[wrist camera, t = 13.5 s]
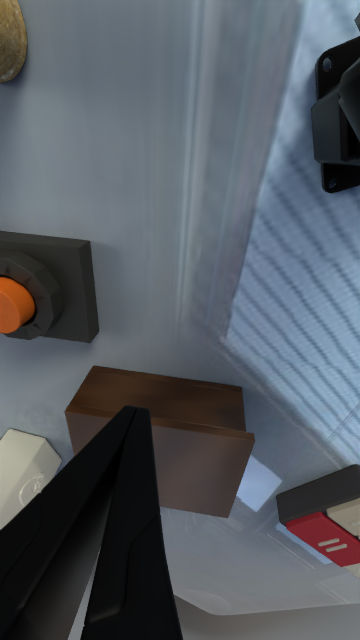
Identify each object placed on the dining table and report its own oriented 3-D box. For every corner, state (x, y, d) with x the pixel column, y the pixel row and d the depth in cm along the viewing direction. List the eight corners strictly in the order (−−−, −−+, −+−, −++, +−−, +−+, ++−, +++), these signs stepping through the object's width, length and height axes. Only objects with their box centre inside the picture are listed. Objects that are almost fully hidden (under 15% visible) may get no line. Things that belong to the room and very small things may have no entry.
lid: (254, 433, 21) (255, 441, 20) (227, 510, 27) (228, 518, 27) (68, 404, 22) (64, 411, 21) (85, 485, 28) (82, 492, 28)
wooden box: (242, 386, 25) (246, 431, 21) (221, 463, 32) (222, 509, 27) (92, 365, 26) (68, 404, 22) (102, 443, 33) (85, 485, 28)
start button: (29, 279, 18) (12, 290, 17) (39, 324, 20) (25, 337, 19) (-20, 273, 19) (-41, 283, 17) (-5, 318, 21) (-23, 330, 19)
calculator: (373, 499, 25) (460, 570, 28) (355, 457, 29) (433, 523, 32) (278, 529, 30) (361, 587, 33) (273, 490, 34) (348, 545, 37)
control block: (90, 240, 20) (67, 254, 17) (99, 331, 24) (82, 355, 21) (-37, 226, 20) (-80, 237, 17) (-7, 316, 25) (-38, 338, 22)
